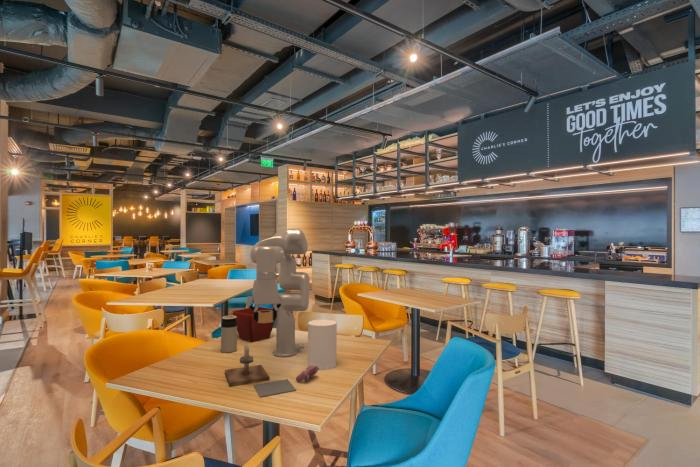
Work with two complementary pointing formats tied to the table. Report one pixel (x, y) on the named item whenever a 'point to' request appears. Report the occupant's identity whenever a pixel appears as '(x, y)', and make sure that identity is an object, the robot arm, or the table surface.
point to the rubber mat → (274, 388)
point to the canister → (322, 343)
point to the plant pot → (251, 325)
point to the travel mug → (229, 334)
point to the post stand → (246, 372)
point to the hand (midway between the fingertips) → (265, 320)
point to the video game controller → (307, 373)
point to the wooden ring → (265, 316)
